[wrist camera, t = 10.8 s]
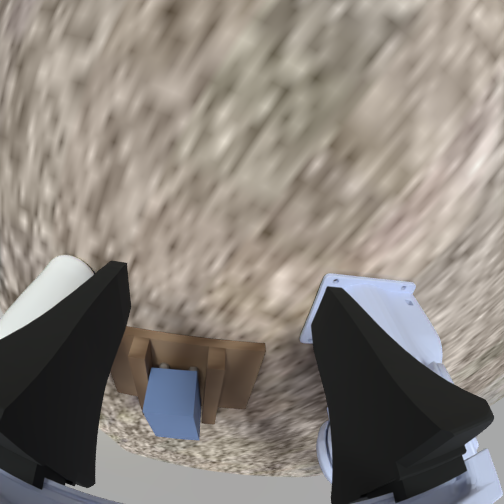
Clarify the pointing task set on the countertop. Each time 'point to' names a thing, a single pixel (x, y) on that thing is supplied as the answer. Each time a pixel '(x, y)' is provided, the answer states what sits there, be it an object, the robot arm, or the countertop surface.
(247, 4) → the countertop surface
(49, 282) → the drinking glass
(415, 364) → the robot arm
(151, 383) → the shelf block
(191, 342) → the shelf frame
